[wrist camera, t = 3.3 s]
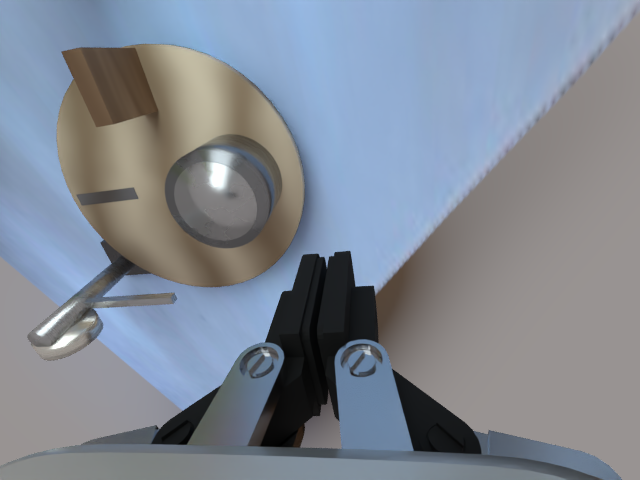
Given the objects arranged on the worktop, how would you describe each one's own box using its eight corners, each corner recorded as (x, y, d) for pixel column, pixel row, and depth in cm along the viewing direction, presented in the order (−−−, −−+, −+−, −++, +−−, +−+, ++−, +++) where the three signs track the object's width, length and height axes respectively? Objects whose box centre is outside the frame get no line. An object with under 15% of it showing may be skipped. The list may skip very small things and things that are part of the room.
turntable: (273, 16, 22) (243, 6, 16) (322, 272, 31) (314, 319, 26) (18, 71, 25) (-75, 77, 20) (132, 285, 35) (89, 328, 29)
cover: (270, 127, 24) (251, 143, 20) (290, 216, 27) (277, 244, 23) (181, 141, 25) (147, 158, 21) (210, 224, 28) (185, 252, 24)
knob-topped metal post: (207, 227, 32) (129, 316, 21) (220, 262, 34) (154, 359, 23) (107, 237, 34) (-10, 322, 23) (124, 270, 36) (23, 363, 25)
